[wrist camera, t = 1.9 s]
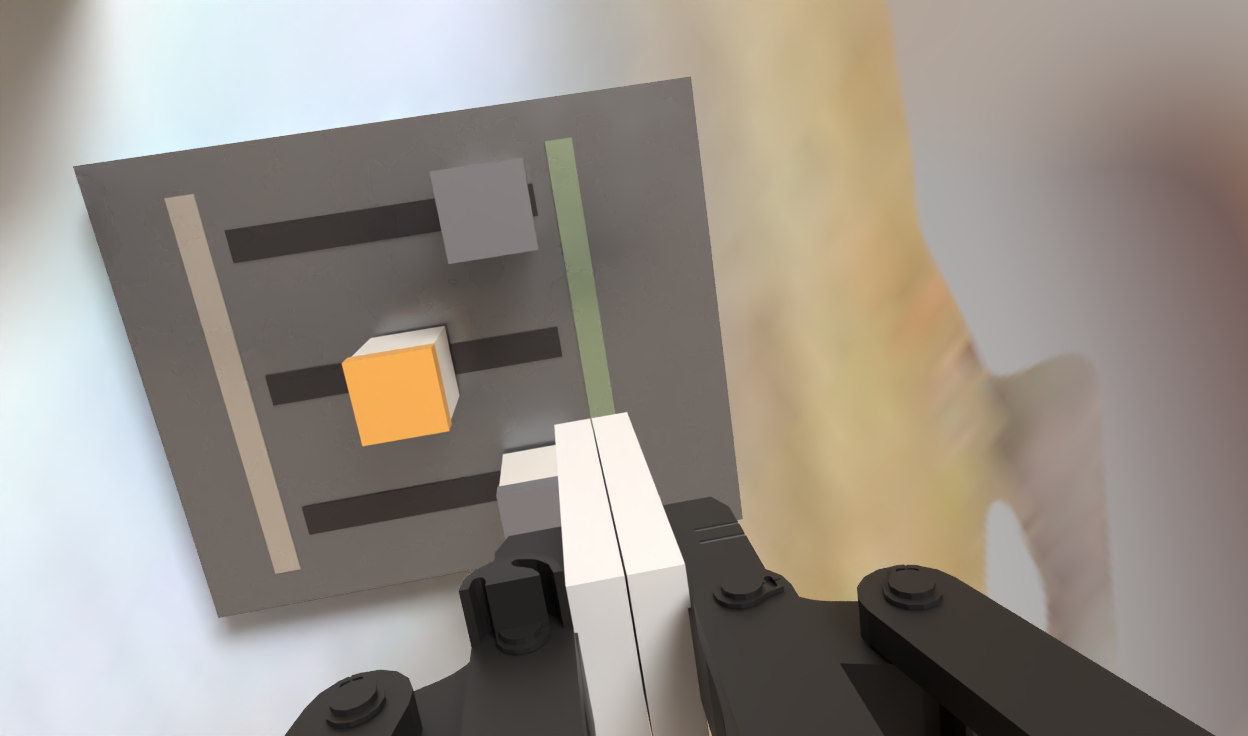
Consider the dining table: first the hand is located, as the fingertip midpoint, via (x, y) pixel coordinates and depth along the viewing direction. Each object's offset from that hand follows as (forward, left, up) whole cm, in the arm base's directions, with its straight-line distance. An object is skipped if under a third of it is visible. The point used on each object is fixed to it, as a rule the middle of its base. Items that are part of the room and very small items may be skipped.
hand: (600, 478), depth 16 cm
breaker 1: (-2, +5, -14) cm, 15 cm away
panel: (-5, 0, -16) cm, 17 cm away
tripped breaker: (-6, 0, -14) cm, 15 cm away
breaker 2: (-2, -6, -14) cm, 15 cm away
